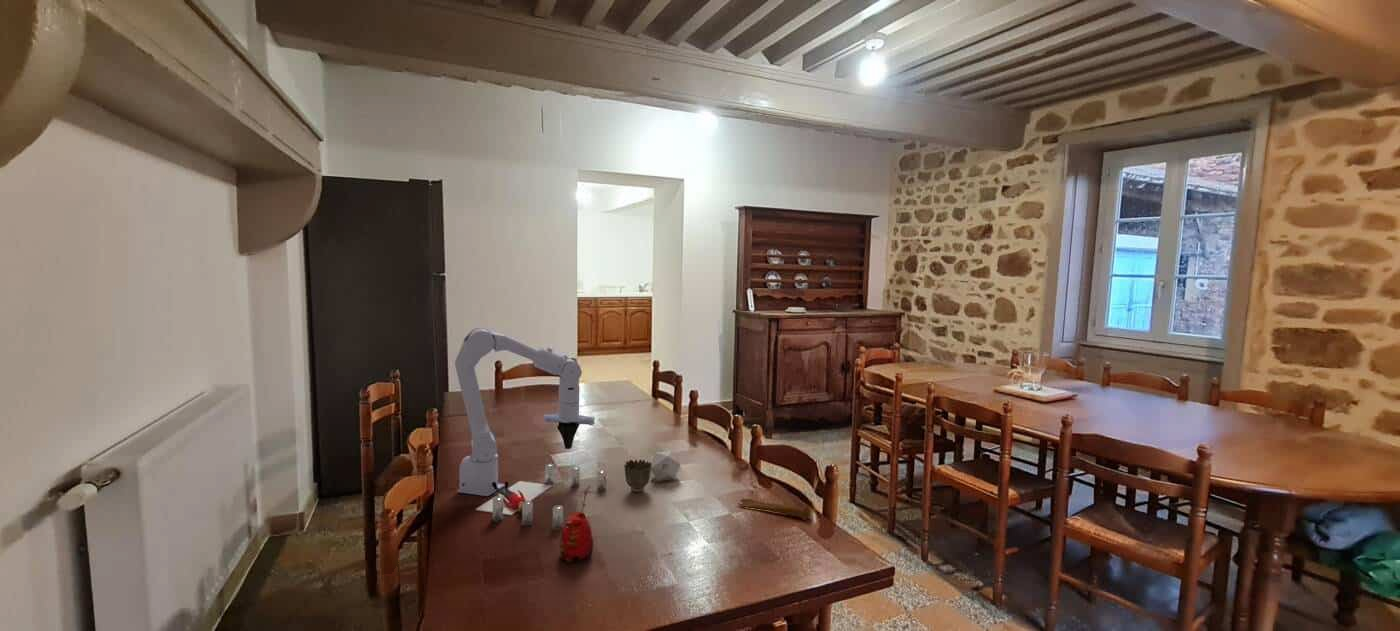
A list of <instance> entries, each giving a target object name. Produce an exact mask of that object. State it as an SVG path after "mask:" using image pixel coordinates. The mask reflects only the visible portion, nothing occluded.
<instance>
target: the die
mask: <svg viewBox="0 0 1400 631" xmlns="http://www.w3.org/2000/svg"><path fill="white" fill-rule="evenodd" d="M650 462H651V474H652V475H653V476H654V478H655V479H656V481H657V482H663V481H664V482H665V481H673V480H675V479H676V476H677V474H678V471H679V470H680V467H681V462H680V461H679V459H678V458H677V457H676V455H675V453H674V452H673V450H667V451H665V450H664V451H657V452H656V451H655V452H654V455H653V456H652V459H651V461H650Z"/></svg>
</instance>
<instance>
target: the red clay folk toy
mask: <svg viewBox="0 0 1400 631" xmlns="http://www.w3.org/2000/svg"><path fill="white" fill-rule="evenodd" d="M590 487H591V486H590V485H588V486H587V488H585V489H584V491H583V490H582V492H581V493H583V494H584V496H583V502H581V505H582V507H581V511H580V512H579V511H575V512H573V513H572V514H571V515H569V516H567V518H566V520H565V523H564V524H563V526H562V529H561V535H560V538H559V550H560V551H559V553H560V558H561V560H563V561H564V562H566V563H569V564H571V563H573V562H580V561H581V562H582V561H583V560H585V559H586V558H588V557H589V555H591V554H592V552H593V550H594V549H593V547H594V539H593V535H592V528H591V524H590V522H589V520H588V518H587V516H586V514H585V513H584V512H583V511H584V508H585V506H586V503H585V502H586V497H587V494H588V493H591V492H592V491H591V490H589V489H590ZM588 490H589V491H588Z"/></svg>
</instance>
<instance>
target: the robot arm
mask: <svg viewBox="0 0 1400 631" xmlns="http://www.w3.org/2000/svg"><path fill="white" fill-rule="evenodd" d="M492 350H494V352H501V351H507V352H509V353H512V354H515V355H517V356H521V357H523V358H526V359H527V360H531V361H532V363H533V366H534V367H535V368H538V369H540V370H542V371H545V372H547V373H549V374H551V375H554V376H557V375H558V376H559V379H558V380H559V383H558V413H556V414H555V413H554V414H553V413H551V414H549V413H548V414H546V413H545V414H544V415H543V417H542V423H543V424H544V423H545V424H546V423H558V425H557V427H556V428H557V430H558V432H559V433H560V435H561V438H562V442H563V444H564V449H565V450H570V449H571V448H573V442H574V438H575V436H576V432H577V431H578V429H579V427H580V425H588V426H593V425H594V424H595V416H588V415H582V414H580V378H581V376H582V374H583V371H582V367H581V365H580V364H579V363H578V362H576V361H575V360H574V359H572V358H571V357H569V356H567V355H565V354H564V355H561V354H560V353H556V352H555V351H553V348H551V347H550V346H549V347H546V348H545V347H541V348H537V349H536V348H534V347H531V346H529V345H527V344H525V343H523V342H521V341H519V340H516V339H515V338H512V337H510V336H508V335H506V334H503V333H500V332H497V331H494V330H490V331H489V329H488V328H485V327H475V328H473V329H472V330H471V331H469V333H468V334H467V335H466V336H464V339H463V341H462V343H461V346H460V348H459V351H458V352H457V356H456V358H455V360H454V366H455V370H456V375H457V379H458V382H459V386H460V391H461V395H462V399H463V402H464V403H463V404H464V407H465V408H464V409H465V410H466V416H467V419H468V423H469V427H470V432H471V439H470V445H471V454H470V455H467V456H465V457H464V458H463V459H462V460H461V462H460V465H459V488H458V489H457V493H463V494H469V495H475V496H476V495H477V496H483V497H489V496H491V495H493V494H494V493H496V492H497V491H496V490H495V489H494V487H493V486H492V483H493V482H495V483H496V485H497V487H498V488H499V489H501V490H502V489H503V488H505V483H499V454H498V453H497V452H498V445H497V442H496V437H495V435H494V433H493V432H492V430H490V428H489V423H488V420H487V416H486V411H485V406H484V404H483V403H484V402H483V398H482V395H481V390H480V386H479V382H478V377H477V373H476V369H475V368H476V366H477V364H478V363H479V362H480V360H481V359H482V358H483V357H485V356H487V355H488V354H489V353H490V352H492Z"/></svg>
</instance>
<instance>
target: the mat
mask: <svg viewBox="0 0 1400 631" xmlns="http://www.w3.org/2000/svg"><path fill="white" fill-rule="evenodd" d="M551 487H552V485H551V484H546V483H545V484H544V483H537V482H527V481H521V480H519V481H518V482H515V483H514V484H513V485H512V486H509V487H508V489H509V490H510V491H512V492H514V493H516V494H517V495H518V496H519V497H521V496H520V493H519V492H518V491H519V490H520V491H521V492H522V494H523V496H524V498H525V500H526V501H532V502H533V500H535V499H536V498H537V497H539V496H540V495H541V494H543V493H544V492H546V491H547V490H549V489H550V488H551ZM503 491H504V492H506V491H505V490H503ZM506 493H507V492H506ZM502 496H503V495H501V494H500V493H498V494H497V495H496V496H494V497H492V498H491V499H490V500H488V501H486V502H484V503H483V504H481V505H480V506H479V507H477V508H475V511H478V512H484V513H485V512H486V513H491V514H493V498H495V497H502ZM503 497H504V496H503ZM505 500H506V501H507V502H508V504H510V505H512V502H509V501H508V500H507V499H506V498H505ZM517 512H519V508H517V509H511V508H509V507H507V506H506V505H505V503H504V502H503V516H510V517H511V516H513V515H514V514H516V513H517Z"/></svg>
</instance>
